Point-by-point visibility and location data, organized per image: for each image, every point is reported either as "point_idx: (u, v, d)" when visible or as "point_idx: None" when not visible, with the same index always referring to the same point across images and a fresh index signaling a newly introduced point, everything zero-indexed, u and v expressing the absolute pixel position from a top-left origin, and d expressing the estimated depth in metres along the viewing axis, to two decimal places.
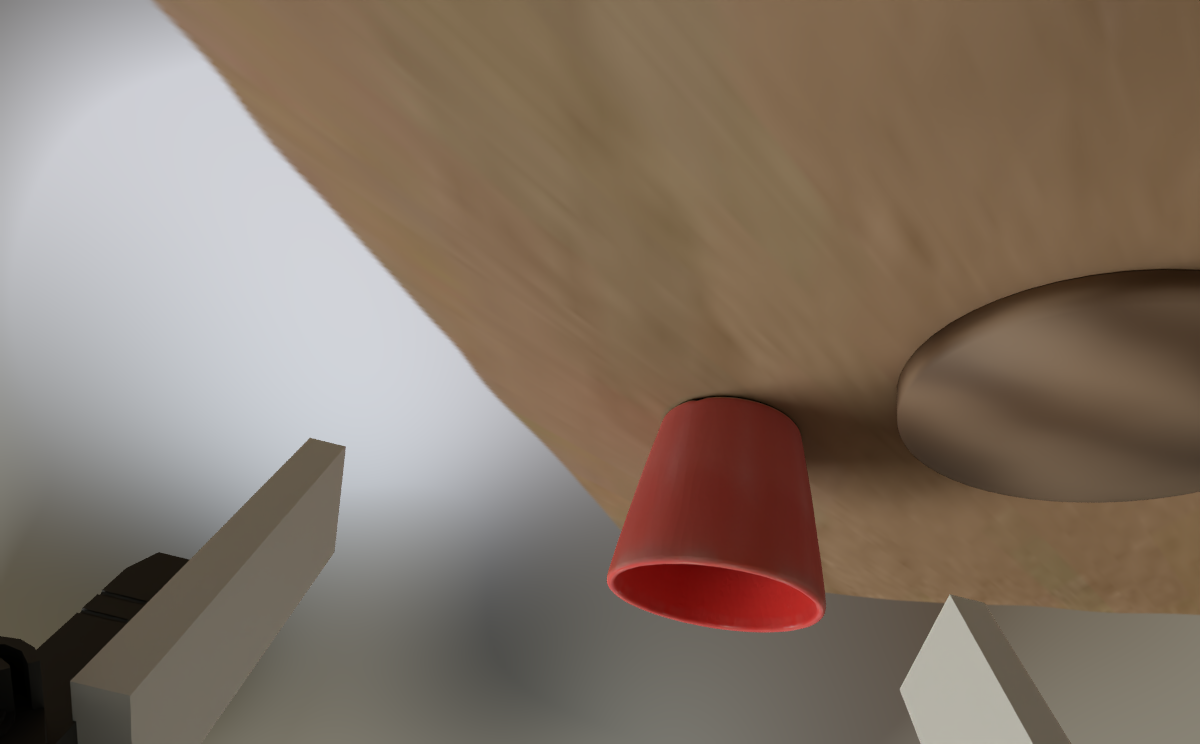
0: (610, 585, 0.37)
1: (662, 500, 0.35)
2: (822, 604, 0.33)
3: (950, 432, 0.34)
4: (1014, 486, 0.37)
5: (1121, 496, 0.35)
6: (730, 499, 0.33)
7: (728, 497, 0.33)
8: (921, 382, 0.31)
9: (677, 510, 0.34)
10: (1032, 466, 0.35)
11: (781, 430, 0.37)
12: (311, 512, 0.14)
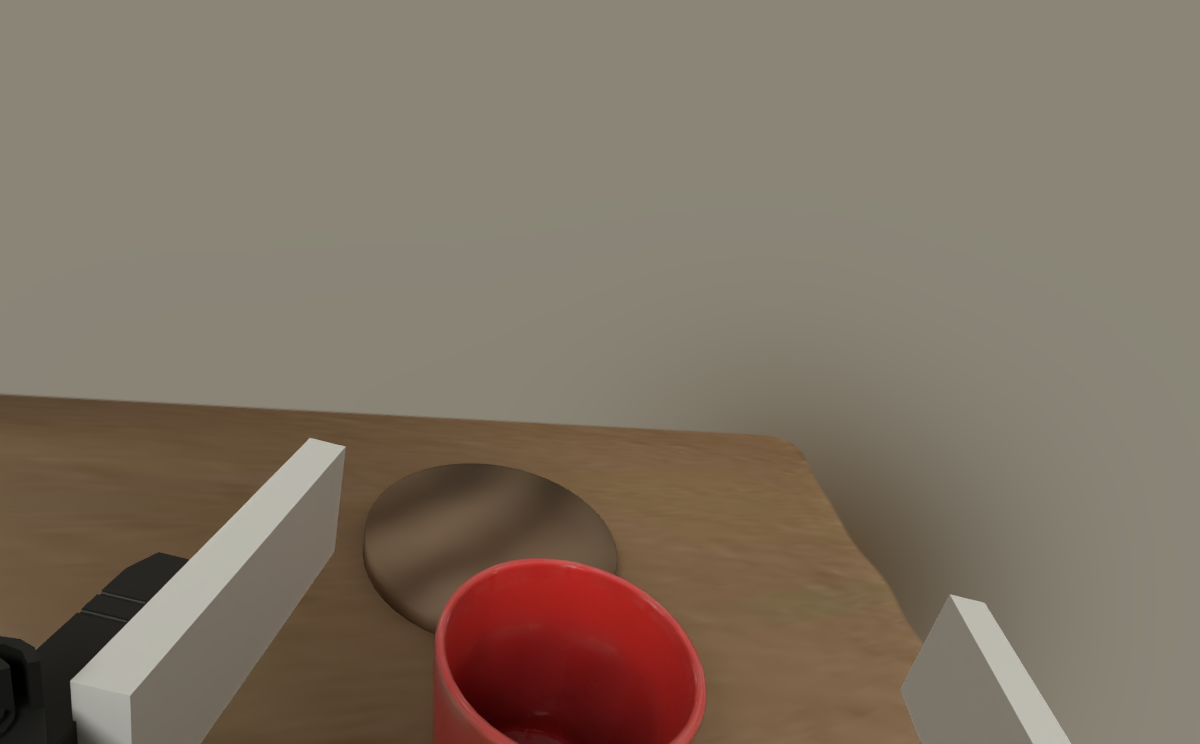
0: None
1: (436, 724, 0.27)
2: (561, 560, 0.33)
3: None
4: None
5: (603, 535, 0.49)
6: None
7: None
8: (419, 600, 0.40)
9: None
10: None
11: None
12: (311, 512, 0.14)
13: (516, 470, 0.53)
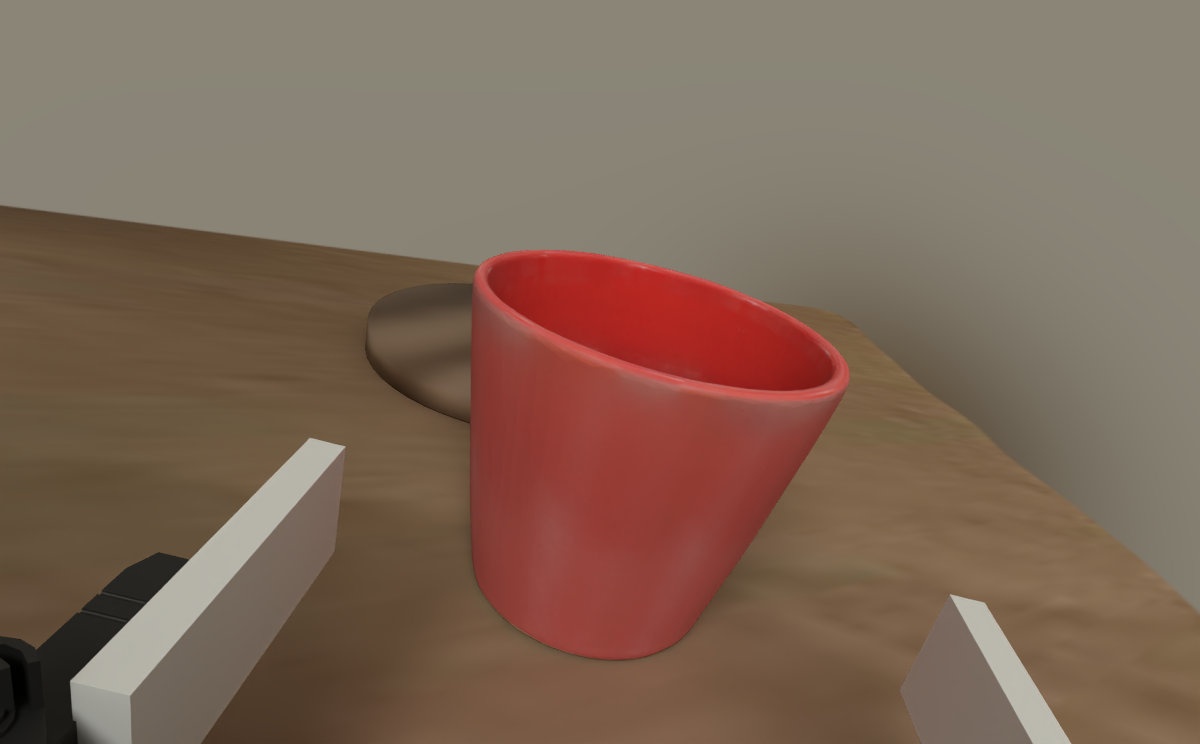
0: (633, 365, 0.16)
1: (476, 403, 0.20)
2: None
3: None
4: None
5: None
6: None
7: None
8: (438, 376, 0.32)
9: (471, 366, 0.20)
10: None
11: None
12: (311, 512, 0.14)
13: None
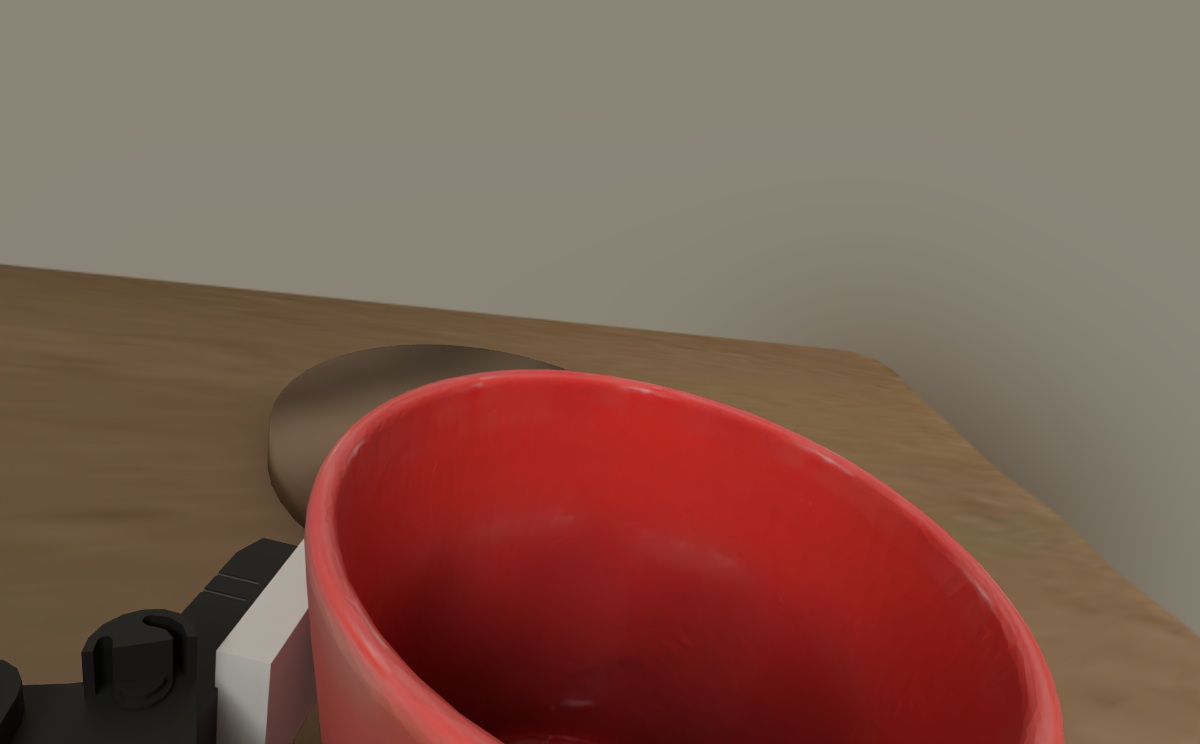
0: None
1: None
2: None
3: None
4: None
5: None
6: None
7: None
8: None
9: None
10: None
11: None
12: None
13: (518, 356, 0.36)
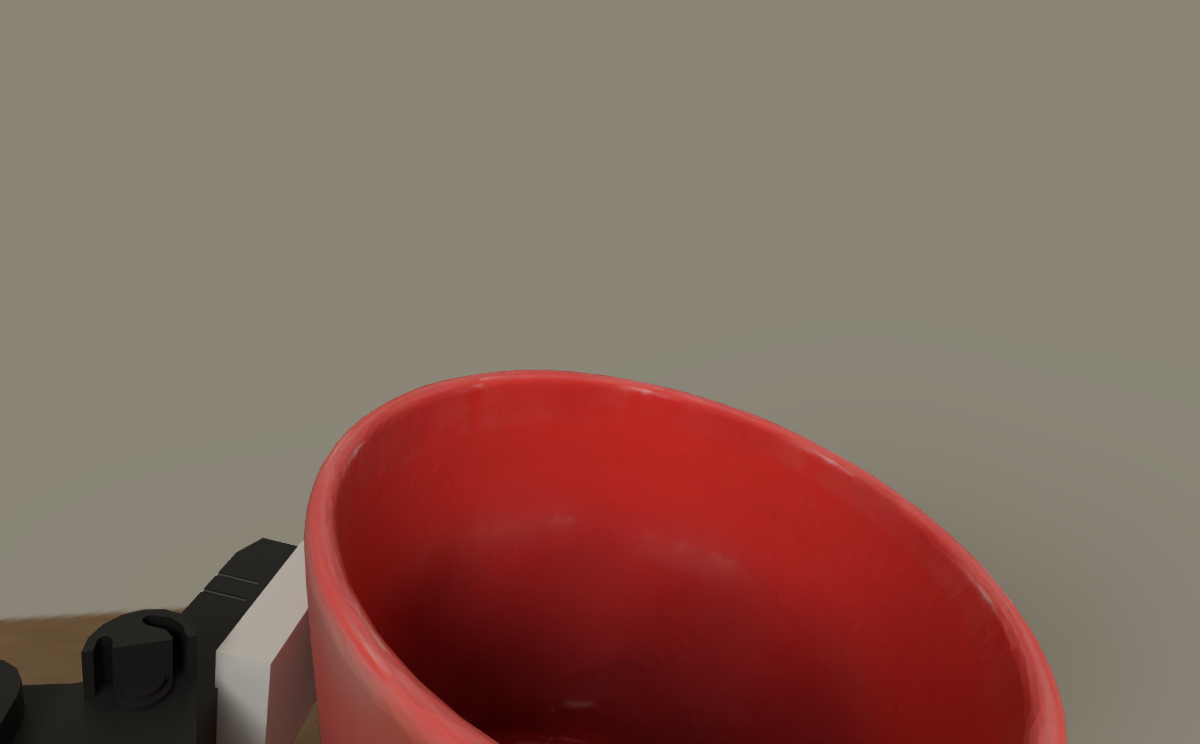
0: None
1: None
2: None
3: None
4: None
5: None
6: None
7: None
8: None
9: None
10: None
11: None
12: None
13: None
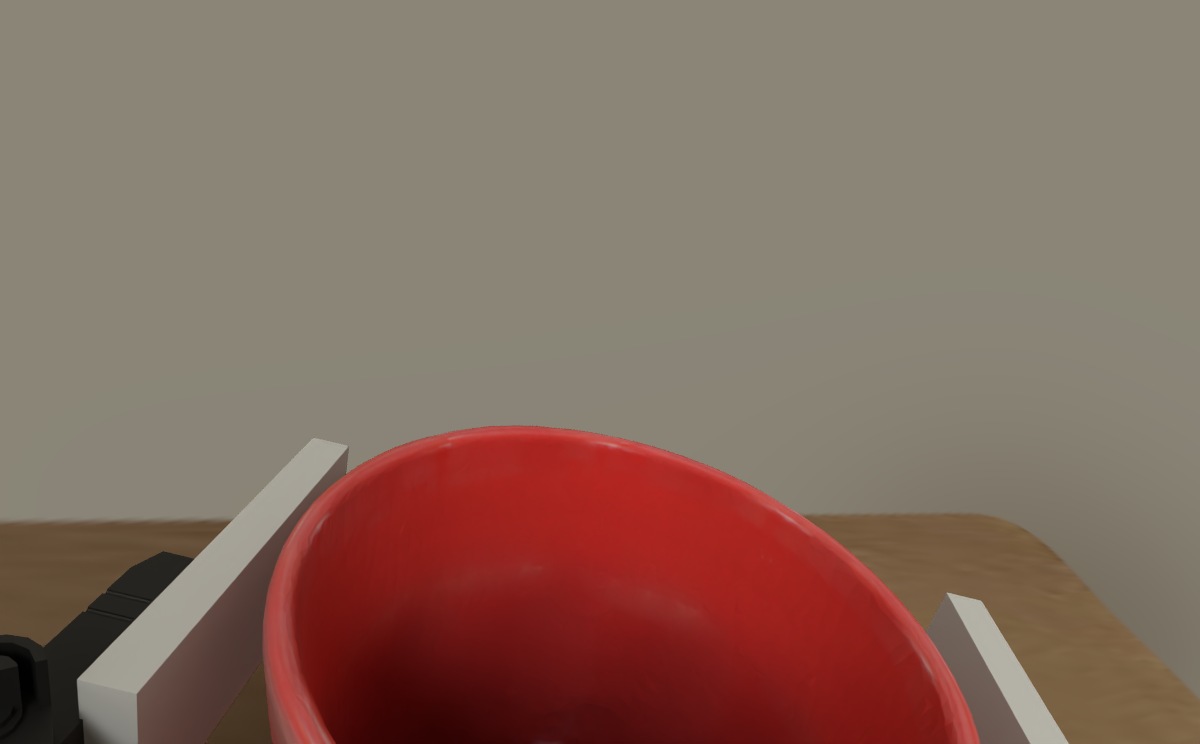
0: None
1: None
2: (587, 433, 0.16)
3: None
4: None
5: None
6: None
7: None
8: None
9: None
10: None
11: None
12: None
13: None
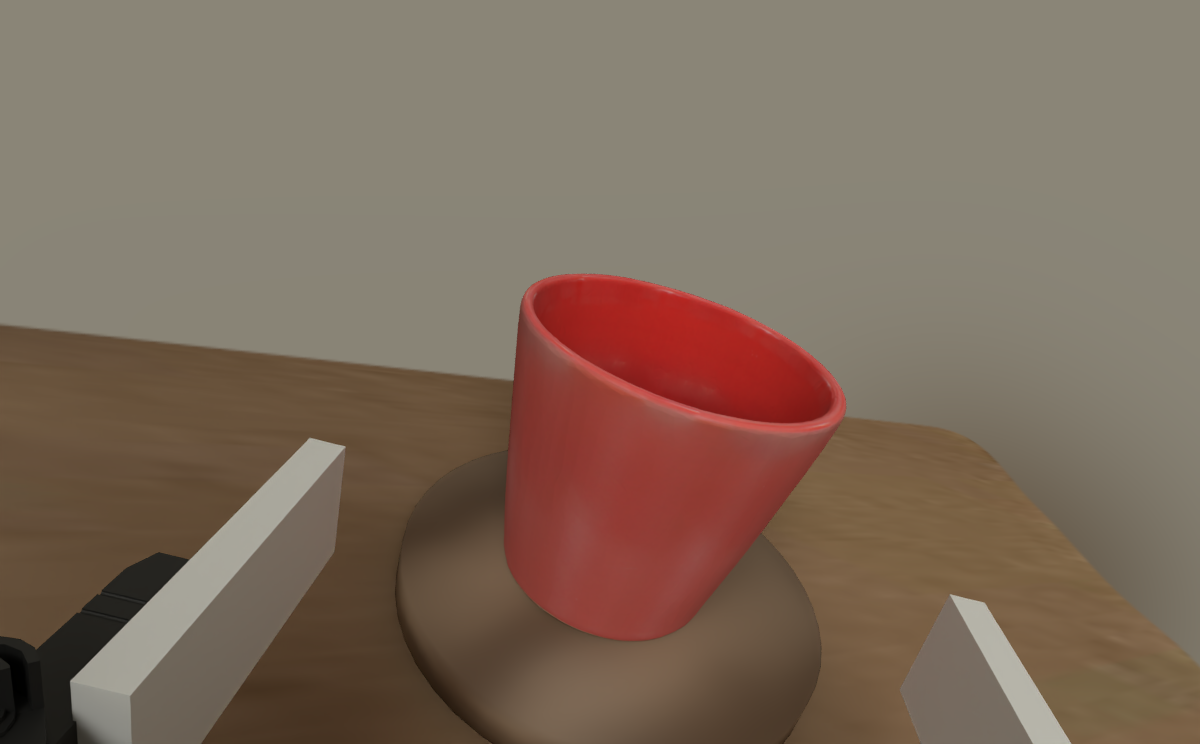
0: (657, 396, 0.19)
1: (518, 412, 0.23)
2: None
3: (643, 695, 0.22)
4: (790, 657, 0.26)
5: (782, 573, 0.30)
6: None
7: None
8: (503, 699, 0.21)
9: (514, 379, 0.23)
10: (727, 630, 0.26)
11: None
12: (311, 512, 0.14)
13: None
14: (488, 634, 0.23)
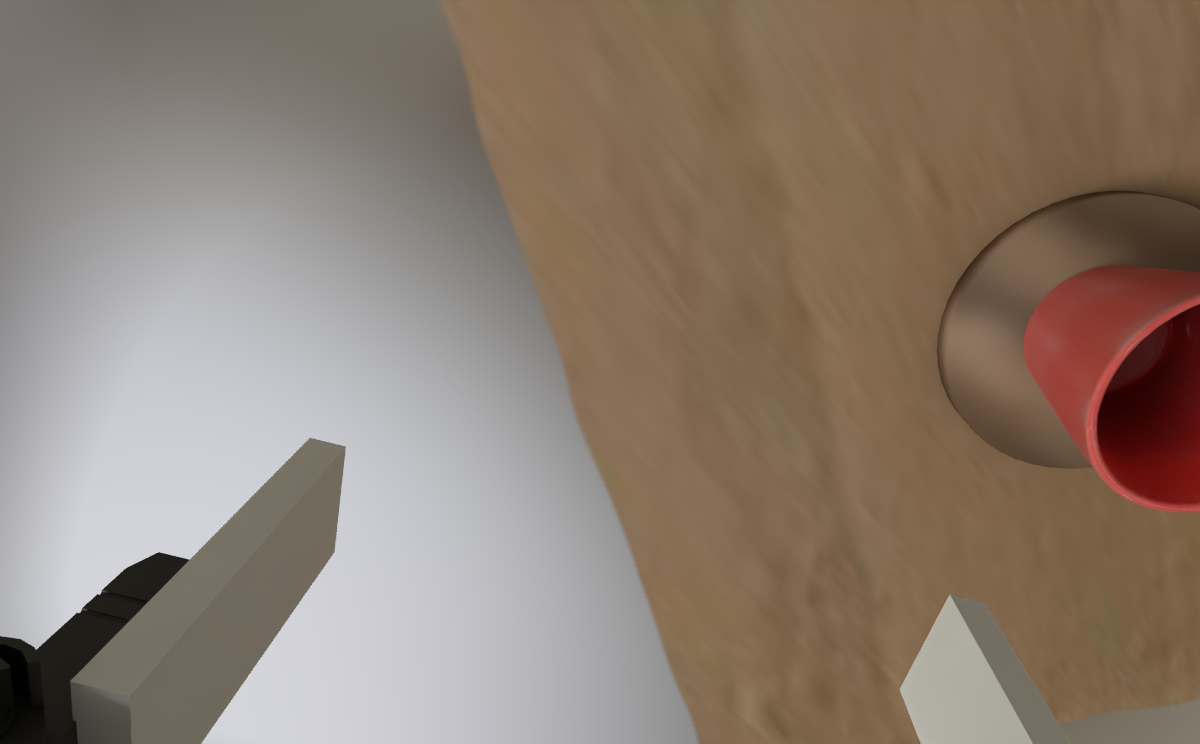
0: (1096, 406, 0.31)
1: (1129, 295, 0.33)
2: None
3: (989, 377, 0.41)
4: (1051, 450, 0.43)
5: None
6: None
7: None
8: (960, 312, 0.40)
9: (1161, 286, 0.32)
10: None
11: None
12: (311, 512, 0.14)
13: None
14: (1003, 289, 0.40)
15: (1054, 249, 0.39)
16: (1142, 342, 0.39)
